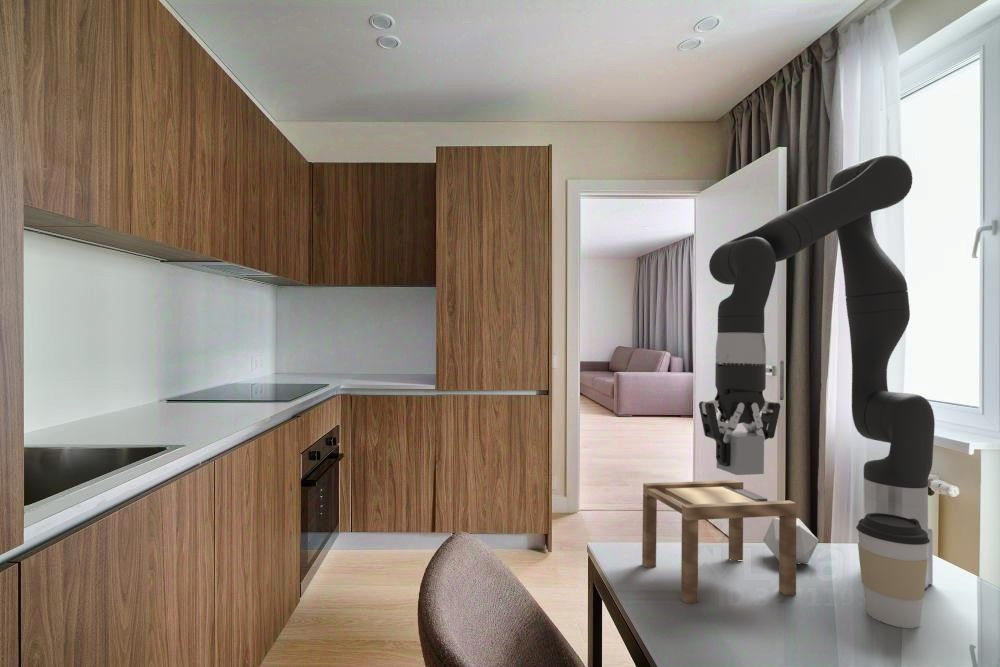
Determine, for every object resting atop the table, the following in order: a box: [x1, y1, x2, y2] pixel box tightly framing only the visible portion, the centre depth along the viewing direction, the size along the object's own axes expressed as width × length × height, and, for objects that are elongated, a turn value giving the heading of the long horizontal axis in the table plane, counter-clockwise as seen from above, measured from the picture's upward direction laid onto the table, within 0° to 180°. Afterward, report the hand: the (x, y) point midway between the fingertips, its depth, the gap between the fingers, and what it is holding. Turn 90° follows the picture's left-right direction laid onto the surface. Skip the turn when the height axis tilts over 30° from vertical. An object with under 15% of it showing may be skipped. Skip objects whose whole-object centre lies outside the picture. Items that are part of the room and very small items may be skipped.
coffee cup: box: [855, 513, 930, 629], centre depth 80 cm, size 9×9×15 cm
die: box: [762, 517, 820, 564], centre depth 100 cm, size 8×9×10 cm
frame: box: [641, 479, 797, 604], centre depth 91 cm, size 20×15×15 cm
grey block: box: [716, 430, 765, 476], centre depth 85 cm, size 5×5×6 cm
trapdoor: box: [665, 486, 768, 505], centre depth 92 cm, size 15×11×3 cm
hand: (739, 464), depth 85 cm, fingers closed on grey block, 5 cm apart
